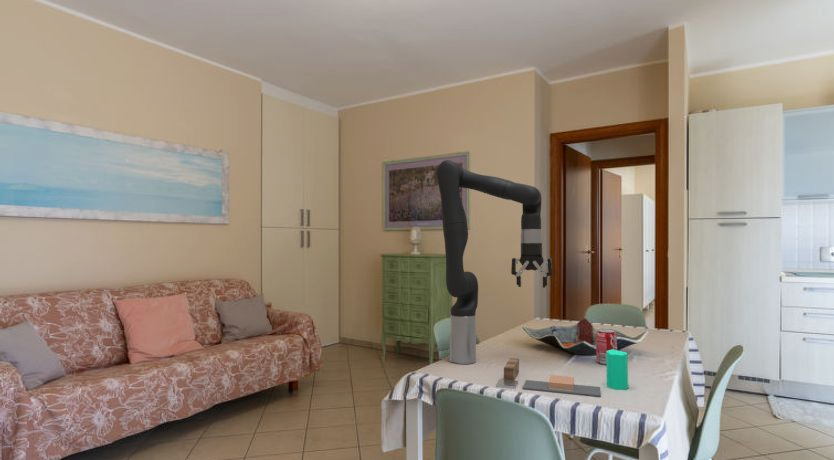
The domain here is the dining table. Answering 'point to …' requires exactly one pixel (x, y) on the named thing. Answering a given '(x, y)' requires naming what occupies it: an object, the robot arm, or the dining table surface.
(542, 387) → the mat
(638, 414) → the dining table surface
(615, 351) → the candle
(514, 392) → the dining table surface
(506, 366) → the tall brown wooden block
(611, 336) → the soda can
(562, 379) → the tile
